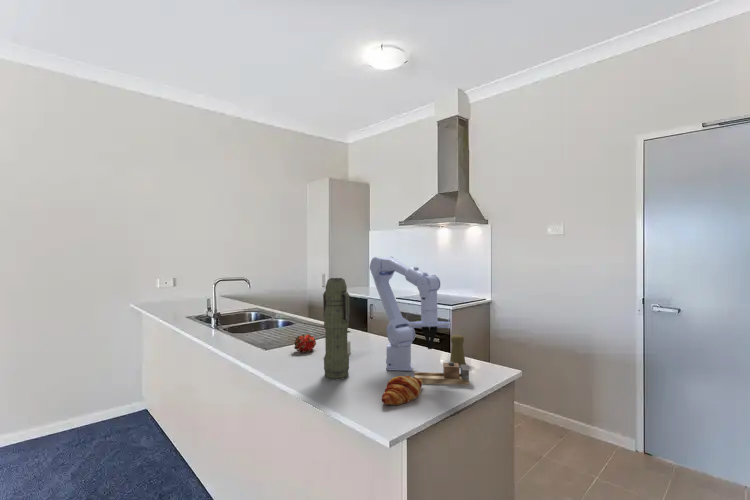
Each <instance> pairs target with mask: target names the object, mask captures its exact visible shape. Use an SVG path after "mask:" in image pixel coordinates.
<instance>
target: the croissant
mask: <svg viewBox="0 0 750 500" xmlns="http://www.w3.org/2000/svg"><path fill="white" fill-rule="evenodd" d="M422 386H423V384H422V380H421V379H418V378H416V377H415V376H414V377H413V376H410V375H398V376H395V377H392V378H391V379H390V380H389V381H388V382H387V383H386V386H385V389H384V392H383V394H382V395H381V402H382V403H383V404H385V405H393V406H394V405H395V406H398V405H399V406H400V405H402V404H406V403H407V404H408V403H409V402H412V401H413V400H415V399H416V398H418V397H419V395H420V394H421V389H422Z"/></svg>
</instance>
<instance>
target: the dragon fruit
mask: <svg viewBox="0 0 750 500" xmlns="http://www.w3.org/2000/svg"><path fill="white" fill-rule="evenodd" d="M316 345H317V341H316V339H315V337H314V335H313V336H312V335H311V334H310V333H307V334H302V335H297V337H296V338H295V340H294V347H293V348H294V349H295V350H296V351H297V352H299V353H301V354H302V353H304V352H305V353H310V352H312V351H314V348H315V347H316Z"/></svg>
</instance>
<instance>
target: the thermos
mask: <svg viewBox="0 0 750 500" xmlns="http://www.w3.org/2000/svg"><path fill="white" fill-rule="evenodd" d="M347 286H348V285H347V283H346V280H345V278H343V277H330V278H328V279H327V280H326V284H325V291H324V292H323V294H322V297H323V298H322V301H323V303H322V304H323V316H322V317H323V328H324V329H325V333H324V334H325V335H324V336H325V338H324V339H325V345H324V346H325V354H324V357H323V370H324V378H325V377H326V378H325V379H327V378H328V379H327V380H330V379H335V380H334V381H337V380H336V379H340V380H343V379H344V380H345V379H347V378H349V373H350V372H349V369H350V355H348V353H347V341H348V328H349V325H350V324H349V323H350V319H351V318H350V317H351V307H350V306H351V296H350V294H349V292H348V291H347V289H348V288H347ZM346 377H347V378H346Z"/></svg>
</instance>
